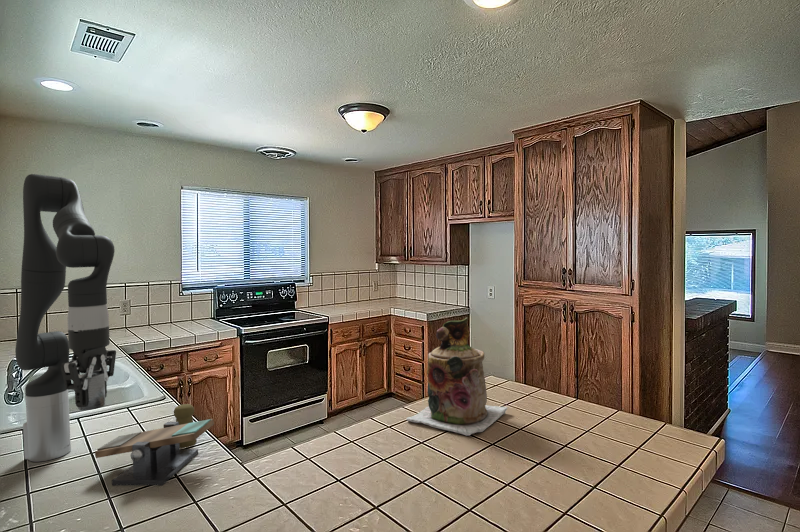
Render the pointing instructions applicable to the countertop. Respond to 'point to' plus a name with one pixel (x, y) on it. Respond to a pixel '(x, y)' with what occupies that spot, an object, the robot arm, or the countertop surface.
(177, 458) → the seesaw stand
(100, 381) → the cylinder
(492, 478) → the countertop surface
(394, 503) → the countertop surface
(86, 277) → the robot arm
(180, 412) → the olive brown waisted cylinder
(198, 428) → the beam
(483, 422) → the cookie jar
